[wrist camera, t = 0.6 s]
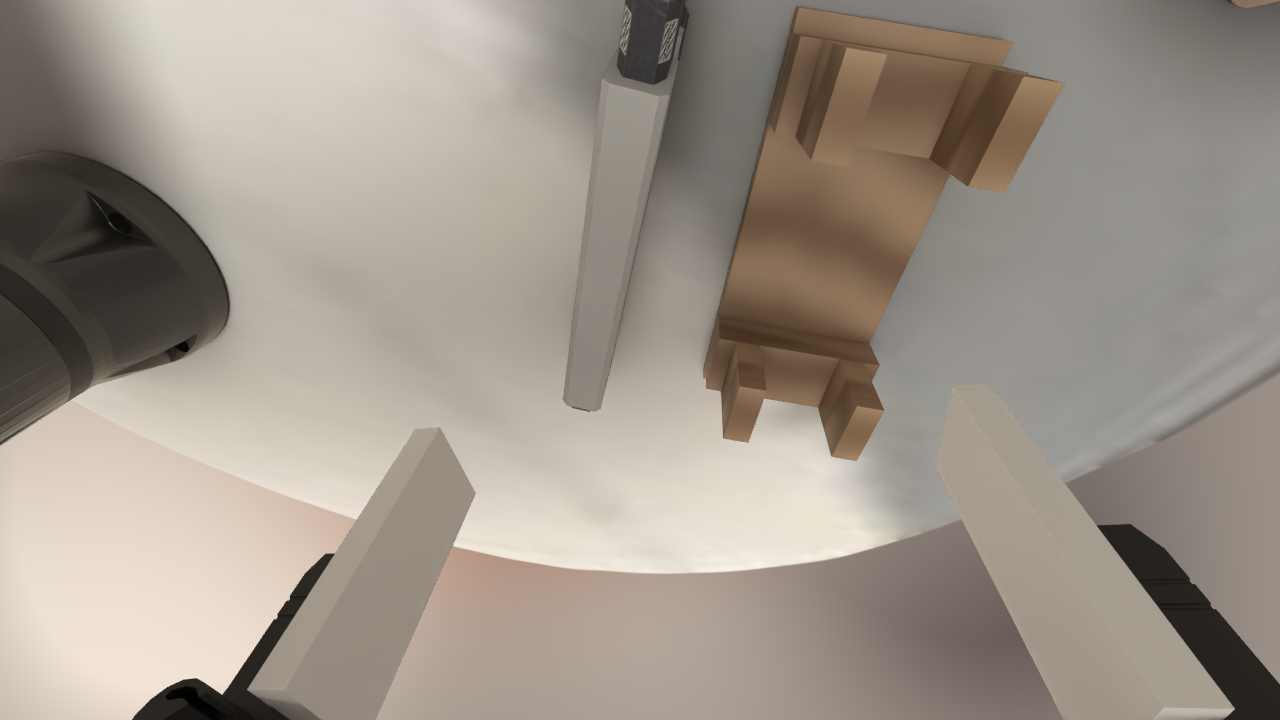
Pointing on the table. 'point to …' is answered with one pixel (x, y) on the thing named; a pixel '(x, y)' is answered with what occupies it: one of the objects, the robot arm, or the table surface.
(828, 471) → the table surface
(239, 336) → the table surface
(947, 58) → the display stand
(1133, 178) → the table surface
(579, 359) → the gun
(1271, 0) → the planter
